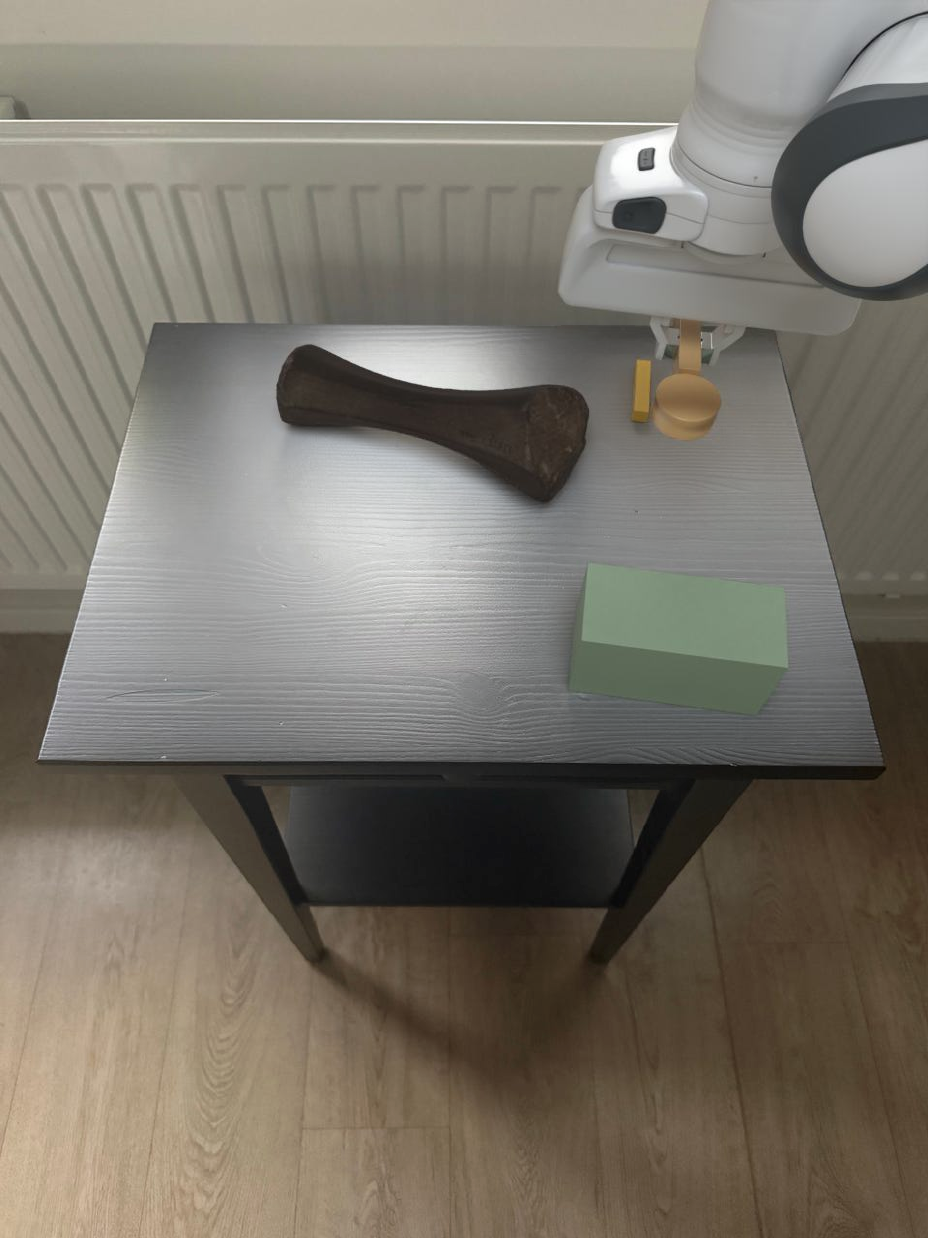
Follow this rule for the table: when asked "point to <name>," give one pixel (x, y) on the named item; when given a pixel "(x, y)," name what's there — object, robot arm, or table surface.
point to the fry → (641, 391)
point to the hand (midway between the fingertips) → (684, 356)
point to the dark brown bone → (444, 416)
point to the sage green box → (678, 639)
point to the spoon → (686, 390)
